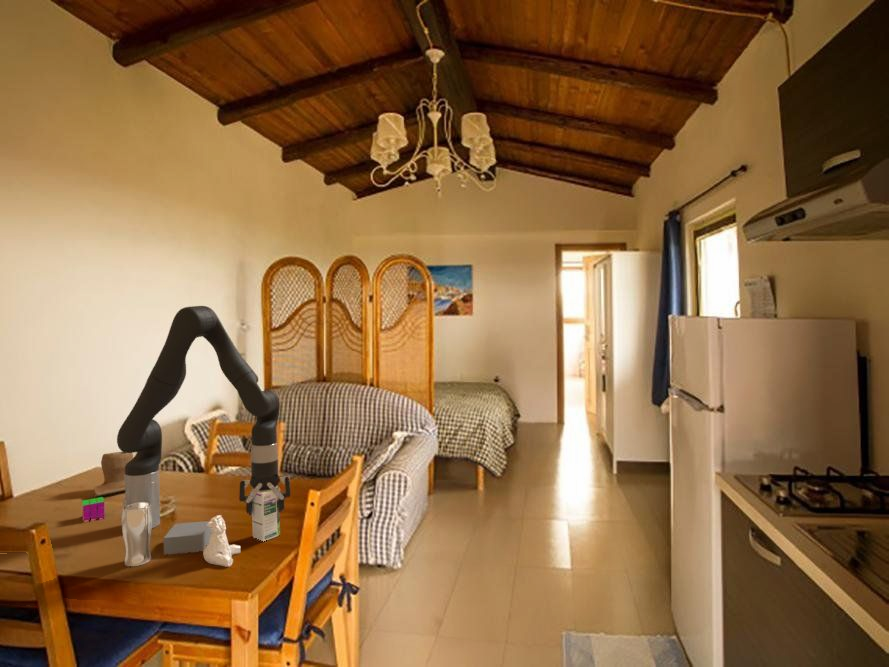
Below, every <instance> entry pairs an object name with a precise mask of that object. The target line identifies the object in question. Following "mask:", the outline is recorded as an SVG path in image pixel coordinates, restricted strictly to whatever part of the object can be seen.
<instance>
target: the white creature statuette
mask: <svg viewBox="0 0 889 667" xmlns="http://www.w3.org/2000/svg"><path fill="white" fill-rule="evenodd" d="M208 521H209V523H207V526H208V527H209V529H210V531H211V532H212V535H210V537H209V541H208V544H207V546H206V547H205V549H204V550H203V551H202V552H203V553H202V554H203V558H204V561H205V562H207V563H208V564H211V565H215V566H222V567H225V568H228V567H231V566H232V565H233V563H234V559H233V558H232V556H233V555H238V554H241V545H238V544H234V543H233V544H229V541H228V537H227V534H226V530H227V527H226V521H225V520H224V518H223V517H222V514H220V515H219V514H217V515H215V516H213V517H212V518H210V520H208Z"/></svg>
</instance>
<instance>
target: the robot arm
mask: <svg viewBox="0 0 889 667" xmlns="http://www.w3.org/2000/svg"><path fill="white" fill-rule="evenodd" d="M202 337H203V338H204V339H205V340H206V341H207V342H208V343H209V344H210V345H211V346H212V348H213V349H214V351H215V353H216V357H217V360H218V365H219V366H220V370H221V372H222V374H224V376H225V378H227V380H228V381H229V382H230V384H231V386H233V388H234V389H236V392H237V394H238V396H239V398H240V400H241V402H242V404H243V406H244V408H245V409H246V411H247V412H248V413H249V414H251V415H252V416H254V417H256V420H255V423H254V424H253V425H252V427H251V450H250V463H251V464H250V469H251V471H250V472H251V477H250V479H245V478H242V479H241V480H240V481H239V496H238V497H239V498H238V499H239V500H238V501H239V502H243V503H245V505H246V506H245V509H246V510H245V511H246V514H248V516H252V498H253V497H254V496H255V495H256V493H257V492H258V491H259V490H269V489H271V490H272V491H273V492H274V493H275V494H276V495H277V496H278V497H279V513H282V512H283V510H285V499H287V498H290V497H291V491H292V490H291V480H290V475H289V474H287V475H285V476H280V475H279V449H278V443H277V442H278V439H277V438H278V437H277V434H278V433H277V425H278V422H279V415H280V406H281V405H280V398H279V396H278V393H277V392H275V391H273V390H271V389H265V390H262V389H261V388H260V386H259V384H258V383H259V376H258V375H257V374H256V373H255V371H254V370H253V369H252V367H251V366H250V365H249V363H248V362H247V361H246V360H245V359H244V357H243V356H242V354H240V352H239V351H238V349H237V347H236V346H235V343H233V341H232V339H231V337H230V336H229V334H228V332H227V331H226V329H225V327H224V325H223V323H222V322H221V320H220V318H219V316H218V314H217V313H216V312H215V311H214V310H213V309H212V308H211V307H209V306H205V305H195V306H193V305H192V306H185V307H182V308H180V309H179V310H178V311H177V312H176V314H175V316H174V317H173V319H172V321H171V325H170V327H169V331H168V334H167V336H166V340H165V342H164V345H163V346H162V349H161V351H160V353H159V356H158V358H157V359H156V362H155V364H154V366H153V367H152V370H151V371H150V374H149V376H148V378H147V380H146V382H145V384H144V387H143V388H142V390H141V392H140V394H139V396H138V398H137V400H136V402H135V404H134V405H133V407H132V409H131V410H130V412H129V414H128V415H127V417H126V418H125V420H123V423H122V424H121V426H120V428H119V430H118V432H117V436H116V443H117V447H118V448H119V450H120V452H125V453H133V454H134V453H136V454H135V455H134V456H133V459H132V460H131V461H129V462H128V463H127V464H126V465H125V491H124V492H125V494H124V495H125V496H124V499H123V500H122V508H123V507H124V506H126V505H128V504H131V503H135V502H150V503H151V511H152V528H151V529H154V528H156V527H158V526H159V525H160V524H161V503H160V501H161V500H160V495H161V494H160V463H161V461H162V450H163V449H162V447H163V434H162V433H163V432H162V427H161V425H160V424H159V422H158V421H157V420H155V419H154V418H155V417H156V416H157V415H158V414H159V412H161V411H162V410H163V409H164V408H165V407H166V406H168V405H169V404H170V402H172V401H173V400H174V399H175V397H176V396H177V395H178V393H179V392H180V390H181V387H182V385H183V383H184V381H185V379H186V375H187V364H186V363H187V361H186V360H187V354H188V352H189V350H190V348H191V346H192V344H193V342H194V341H195V340H196V339H197V338H202ZM280 482H282V484H283V485H284V486H285V492H283V491H282V489H281V487H280V486H278V484H280ZM249 484H250V486H251V487H252V490H253V489H254V490H253V491H252V492H251V491H250V492H249V494H248V495H246V488H247V487H248V486H249ZM276 487H277V488H279V490H278V489H277V488H276ZM275 490H276V491H275ZM254 492H255V493H254Z"/></svg>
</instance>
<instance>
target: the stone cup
mask: <svg viewBox="0 0 889 667" xmlns="http://www.w3.org/2000/svg"><path fill="white" fill-rule="evenodd" d="M133 458H134V453H125V452H123V451H116V452H108V453H104V454H103V455H102V457H101V461H100V464H101V465H100V466H101V469H102V473H103V474H102V475H103V479H104V481H103V482H102V483H101V484H100V485H97V486H94V488H93V494H94V498H95V497H96V496H97V497H103V496H108V495H112V493H113V494H116V492H117V493H120V492H125V465H126V464H127V463H128V462H129V461H131V460H132V459H133ZM107 494H108V495H107ZM102 495H103V496H102ZM97 497H96V498H97Z"/></svg>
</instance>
